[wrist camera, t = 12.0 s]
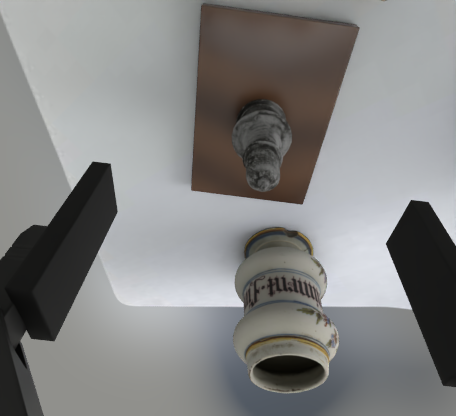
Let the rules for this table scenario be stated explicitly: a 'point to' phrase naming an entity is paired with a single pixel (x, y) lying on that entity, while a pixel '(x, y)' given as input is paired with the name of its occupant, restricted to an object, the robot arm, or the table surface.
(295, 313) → the apothecary jar
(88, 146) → the table surface
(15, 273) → the robot arm
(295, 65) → the walnut board
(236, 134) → the grey tapered rounded piece
